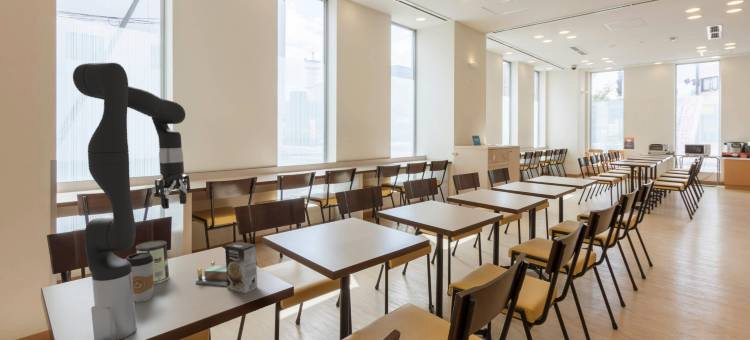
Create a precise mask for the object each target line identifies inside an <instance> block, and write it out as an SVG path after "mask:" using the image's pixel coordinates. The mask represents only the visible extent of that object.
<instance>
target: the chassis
mask: <svg viewBox="0 0 750 340" xmlns="http://www.w3.org/2000/svg"><path fill="white" fill-rule="evenodd" d="M210 265H211V266H216V261H215V260H213V261H211V262H210ZM211 266H210V267H211ZM196 270H197V279H195V284H196V285H207V286H214V287H215V286H217V287H227V280H218V279H205V275H203V273H202V272H203V270H202V268H201V267H200V268H197V269H196Z"/></svg>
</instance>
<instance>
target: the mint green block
mask: <svg viewBox="0 0 750 340" xmlns="http://www.w3.org/2000/svg"><path fill="white" fill-rule="evenodd" d="M204 276H205V279H218V280H227V271H226V265H215V266H209V267H207V268H206V269H205V270H204Z"/></svg>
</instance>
